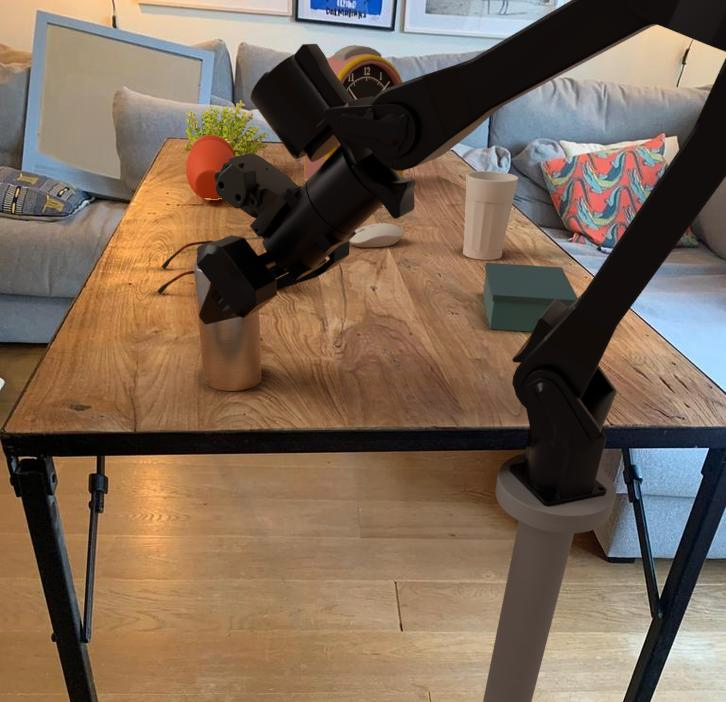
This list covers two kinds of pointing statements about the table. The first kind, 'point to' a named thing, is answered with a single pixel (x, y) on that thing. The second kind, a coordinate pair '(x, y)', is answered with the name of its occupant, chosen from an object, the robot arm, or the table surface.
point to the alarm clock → (358, 82)
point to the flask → (228, 345)
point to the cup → (487, 213)
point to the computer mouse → (377, 235)
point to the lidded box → (522, 294)
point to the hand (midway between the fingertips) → (230, 305)
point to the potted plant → (217, 146)
